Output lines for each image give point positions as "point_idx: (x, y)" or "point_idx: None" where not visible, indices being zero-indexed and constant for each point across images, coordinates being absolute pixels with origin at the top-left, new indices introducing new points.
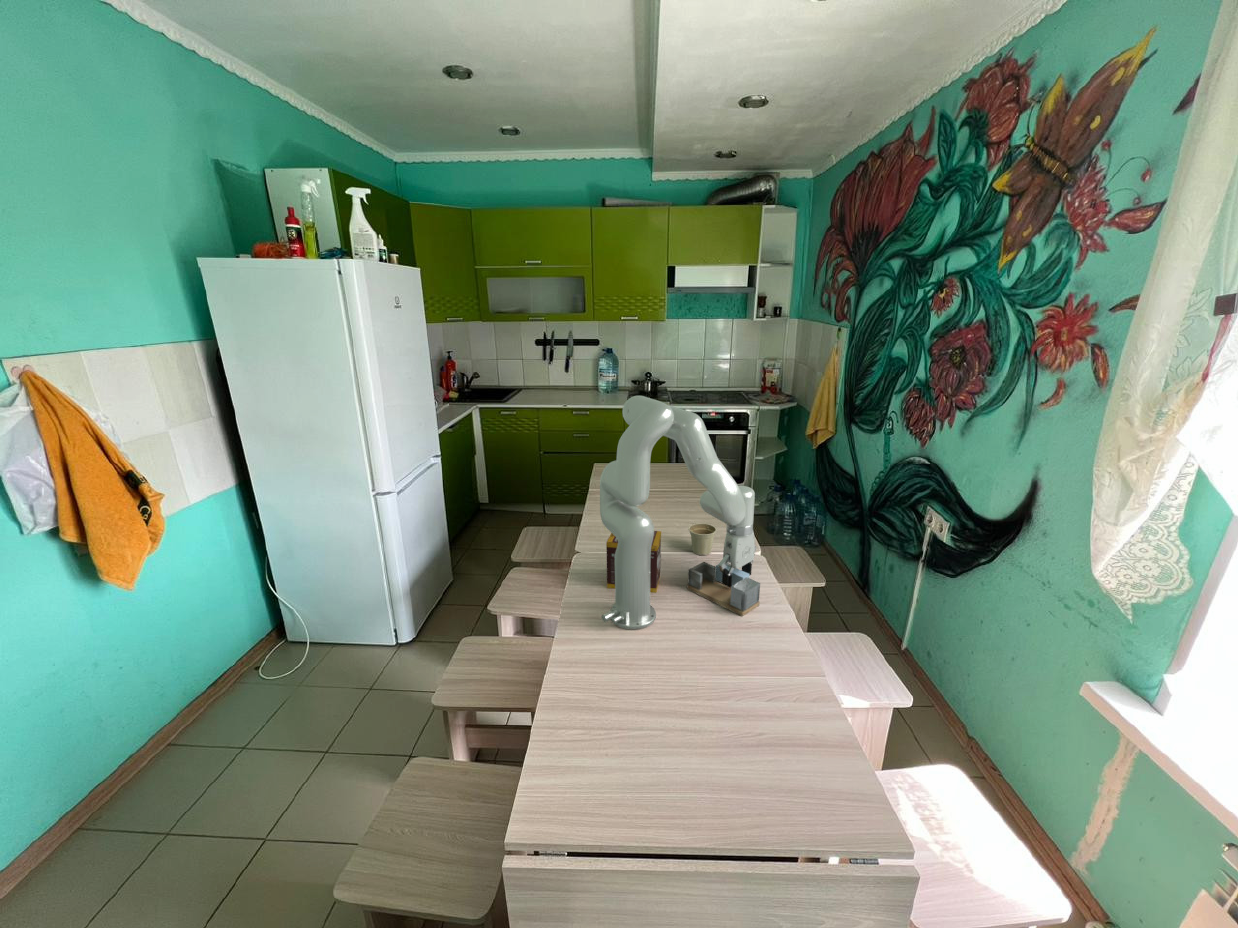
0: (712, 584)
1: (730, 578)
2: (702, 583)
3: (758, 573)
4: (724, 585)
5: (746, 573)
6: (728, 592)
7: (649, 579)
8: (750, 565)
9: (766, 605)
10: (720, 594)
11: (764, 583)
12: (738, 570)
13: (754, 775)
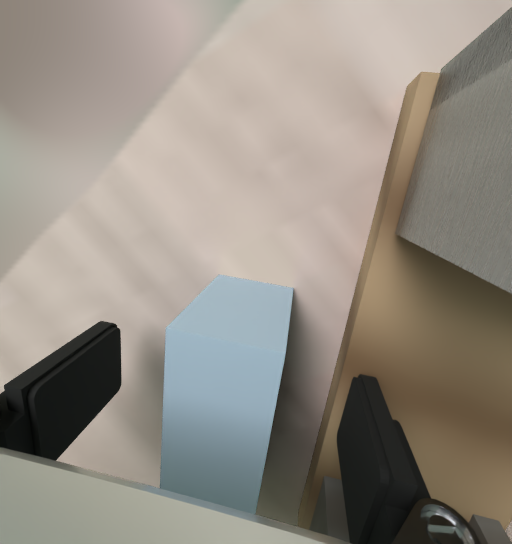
0: None
1: (399, 453)
2: None
3: (25, 297)
4: (333, 414)
5: (180, 356)
6: (414, 359)
7: None
8: (36, 382)
9: (369, 31)
10: (481, 395)
11: (91, 214)
12: (183, 434)
13: None
